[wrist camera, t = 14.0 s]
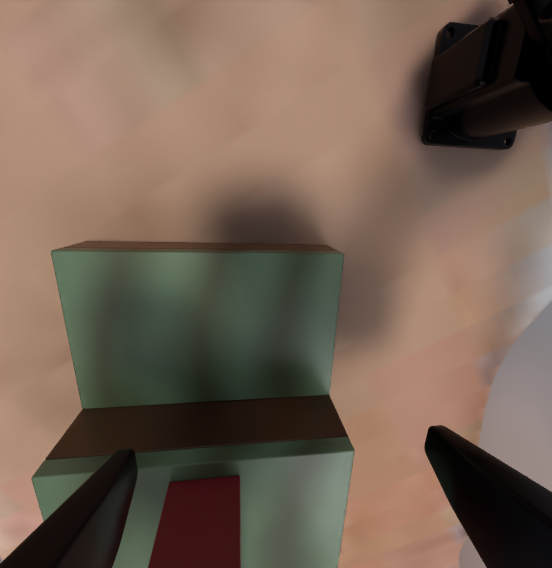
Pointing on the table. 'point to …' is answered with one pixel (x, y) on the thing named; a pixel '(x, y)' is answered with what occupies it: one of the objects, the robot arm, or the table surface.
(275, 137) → the table surface
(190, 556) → the red rectangular block
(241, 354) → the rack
